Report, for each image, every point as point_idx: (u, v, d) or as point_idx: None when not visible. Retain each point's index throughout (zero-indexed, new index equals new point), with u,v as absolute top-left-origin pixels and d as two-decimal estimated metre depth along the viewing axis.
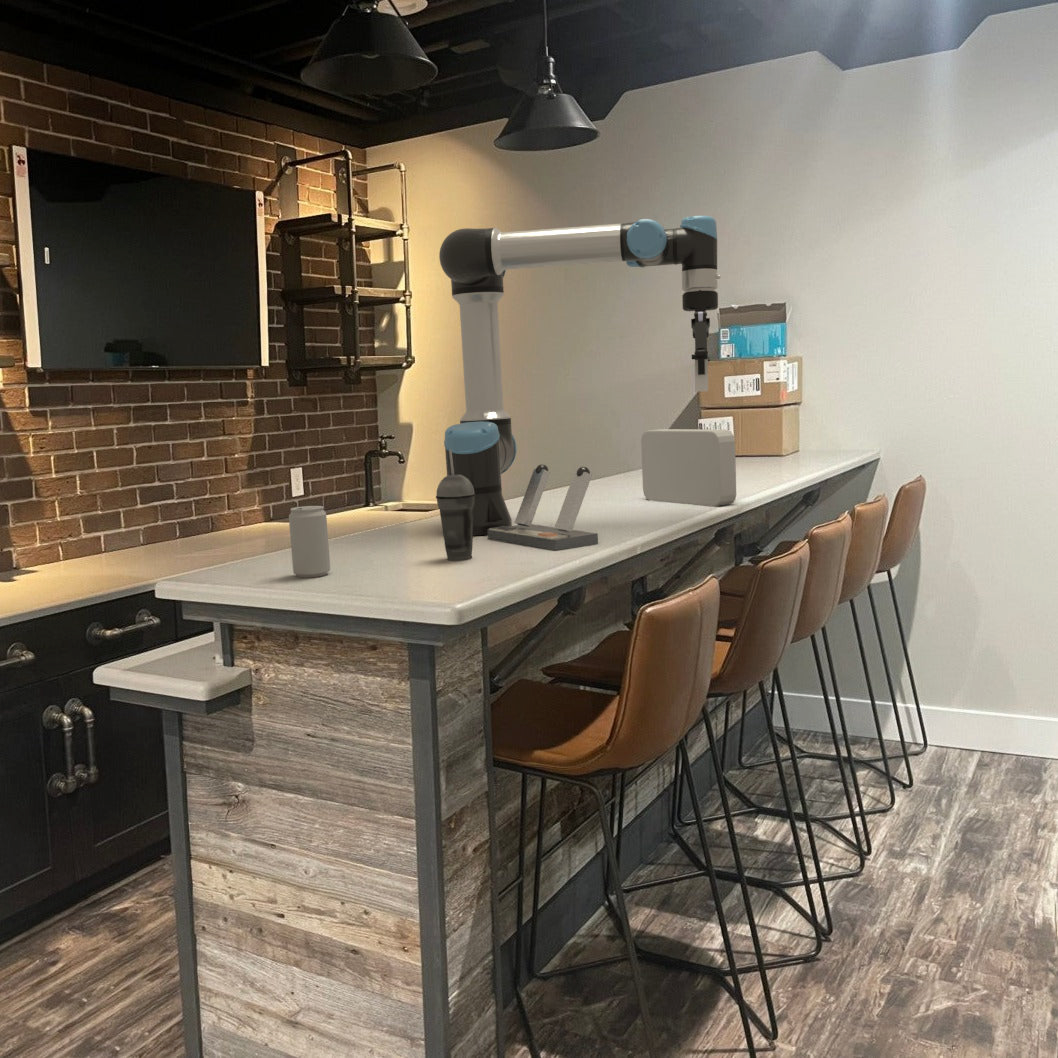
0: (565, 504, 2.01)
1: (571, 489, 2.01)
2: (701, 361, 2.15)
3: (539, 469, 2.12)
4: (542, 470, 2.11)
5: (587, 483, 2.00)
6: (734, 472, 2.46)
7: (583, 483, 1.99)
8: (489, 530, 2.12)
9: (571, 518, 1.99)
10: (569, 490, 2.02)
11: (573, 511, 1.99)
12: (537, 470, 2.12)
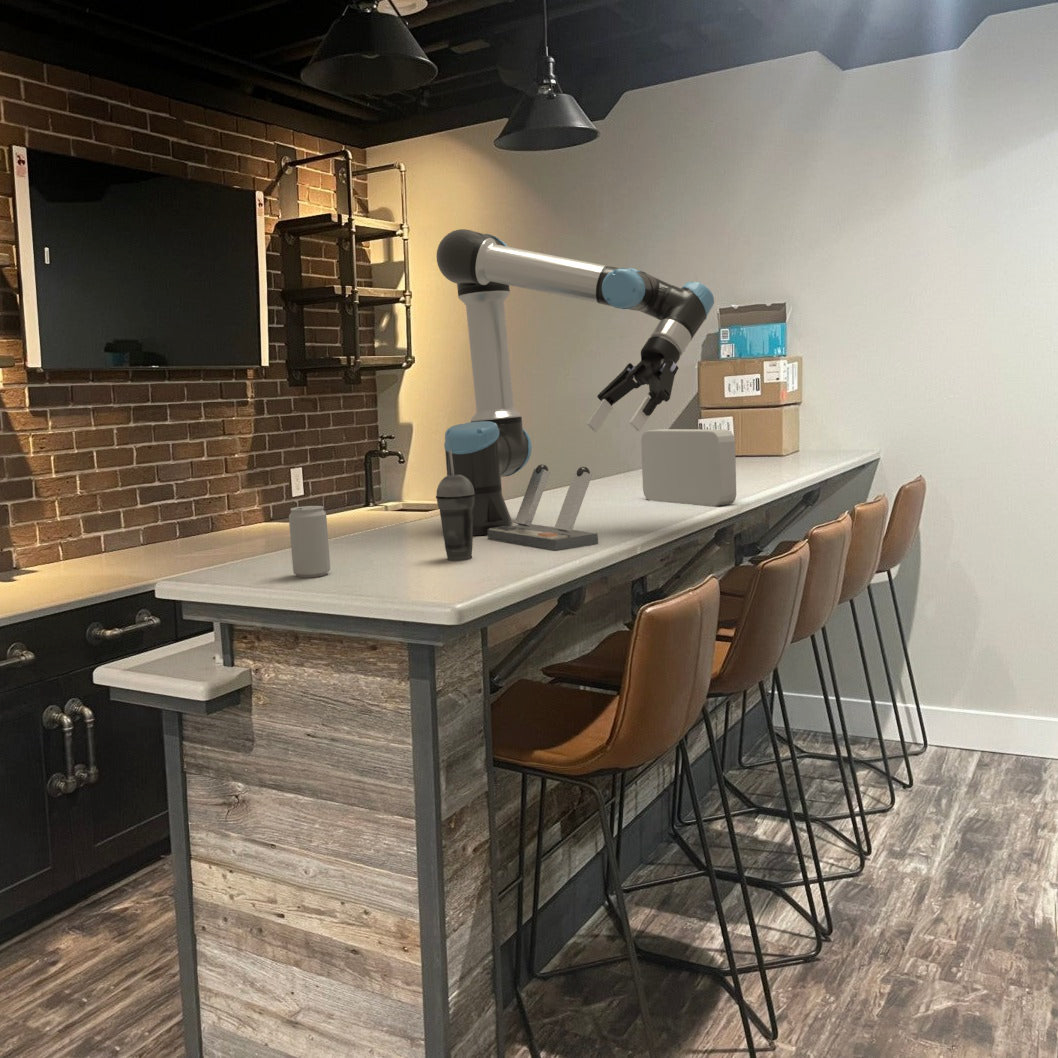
0: (565, 504, 2.01)
1: (571, 489, 2.01)
2: (654, 403, 2.00)
3: (539, 469, 2.12)
4: (542, 470, 2.11)
5: (587, 483, 2.00)
6: (734, 472, 2.46)
7: (583, 483, 1.99)
8: (489, 530, 2.12)
9: (571, 518, 1.99)
10: (569, 490, 2.02)
11: (573, 511, 1.99)
12: (537, 470, 2.12)
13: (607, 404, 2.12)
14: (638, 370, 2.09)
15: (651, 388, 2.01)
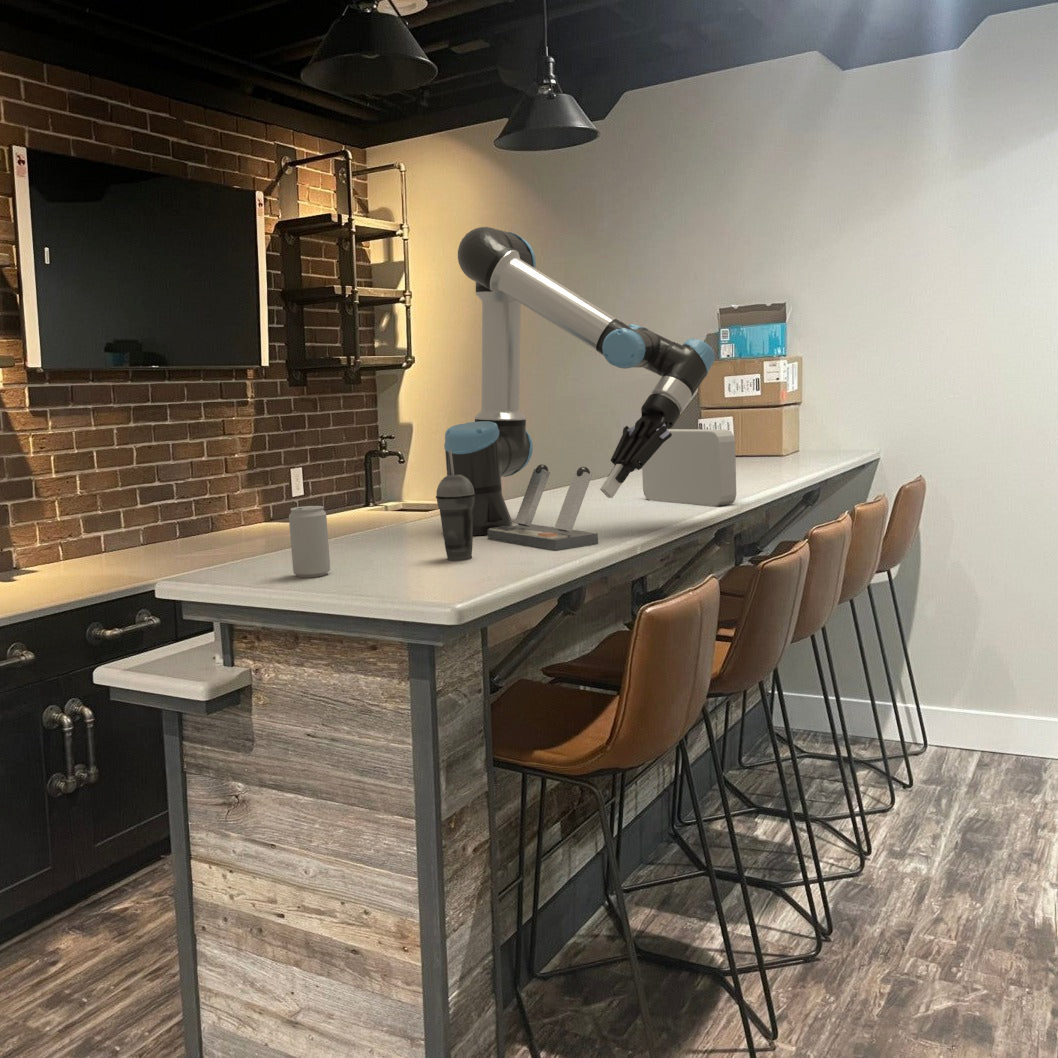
0: (565, 504, 2.01)
1: (571, 489, 2.01)
2: (627, 471, 2.05)
3: (539, 469, 2.12)
4: (542, 470, 2.11)
5: (587, 483, 2.00)
6: (734, 472, 2.46)
7: (583, 483, 1.99)
8: (489, 530, 2.12)
9: (571, 518, 1.99)
10: (569, 490, 2.02)
11: (573, 511, 1.99)
12: (537, 470, 2.12)
13: None
14: (641, 426, 2.10)
15: (630, 453, 2.06)
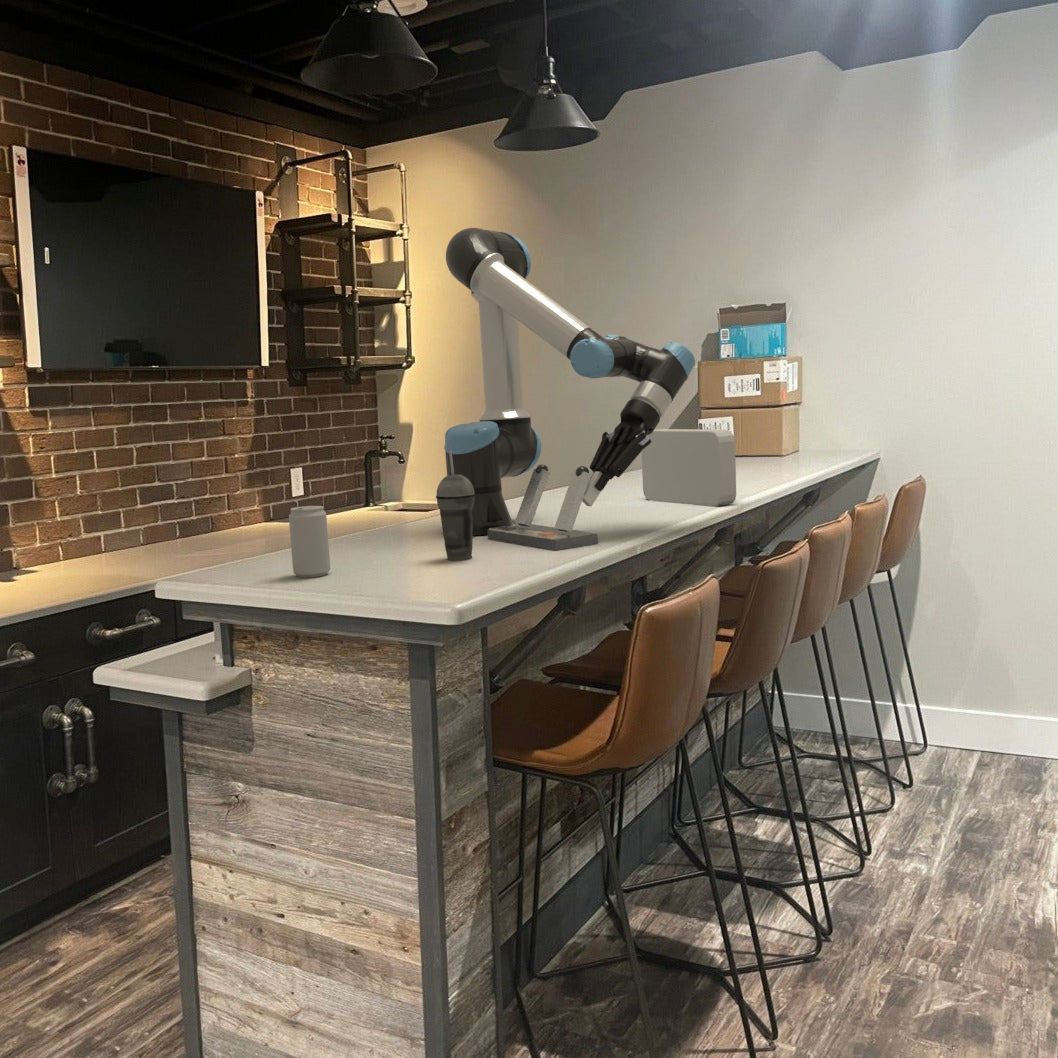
0: (564, 504, 2.01)
1: (570, 489, 2.01)
2: (606, 478, 2.02)
3: (539, 469, 2.12)
4: (542, 470, 2.11)
5: (586, 483, 2.00)
6: (734, 472, 2.46)
7: (582, 482, 1.99)
8: (489, 530, 2.12)
9: (571, 518, 1.98)
10: (568, 490, 2.01)
11: (573, 511, 1.99)
12: (537, 470, 2.12)
13: None
14: (620, 432, 2.06)
15: (609, 460, 2.03)
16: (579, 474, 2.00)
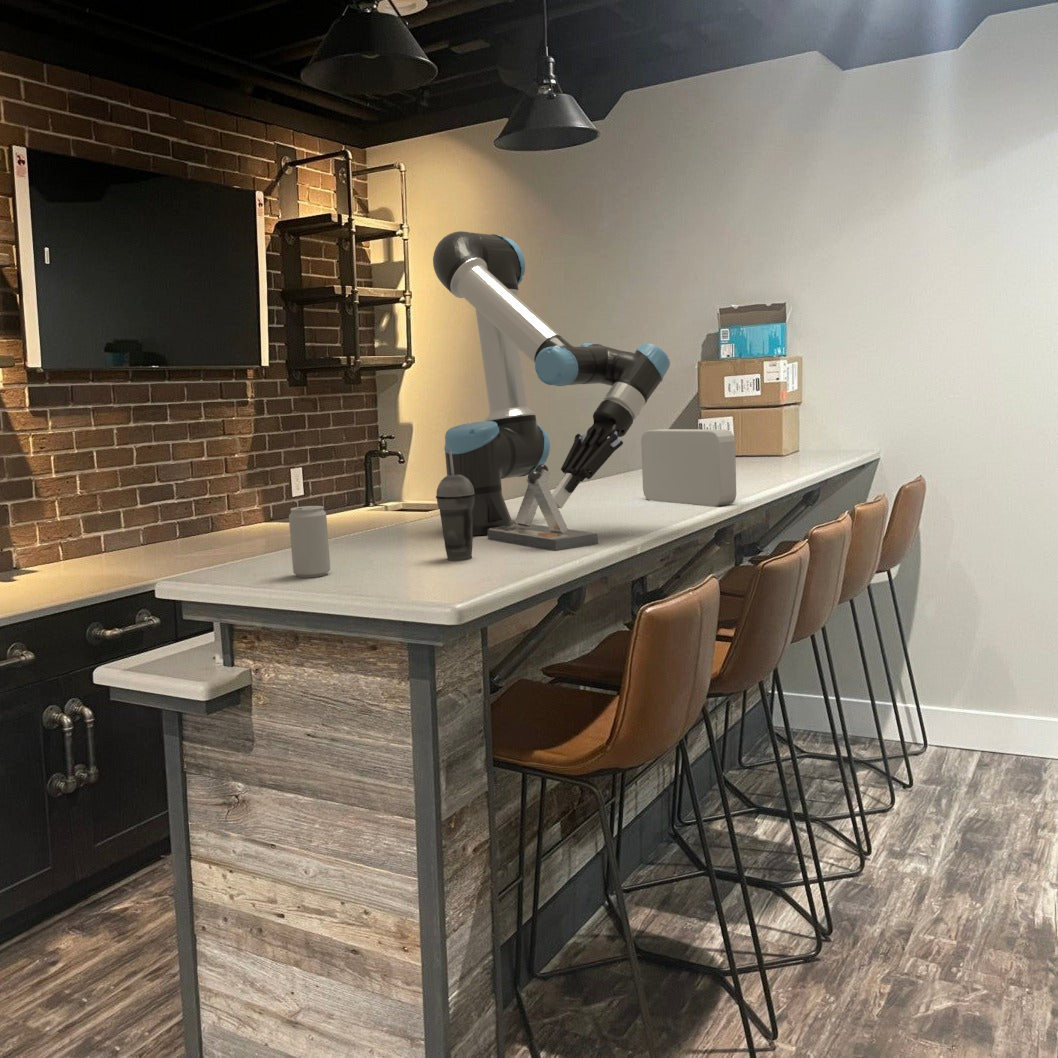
0: (542, 510, 1.98)
1: (537, 497, 1.97)
2: (577, 480, 1.98)
3: (539, 469, 2.12)
4: (542, 470, 2.11)
5: (545, 485, 1.94)
6: (734, 472, 2.46)
7: (542, 489, 1.94)
8: (489, 530, 2.12)
9: (558, 521, 1.97)
10: (536, 497, 1.97)
11: (555, 515, 1.96)
12: (537, 470, 2.12)
13: None
14: (592, 434, 2.03)
15: (580, 462, 1.99)
16: (534, 483, 1.94)
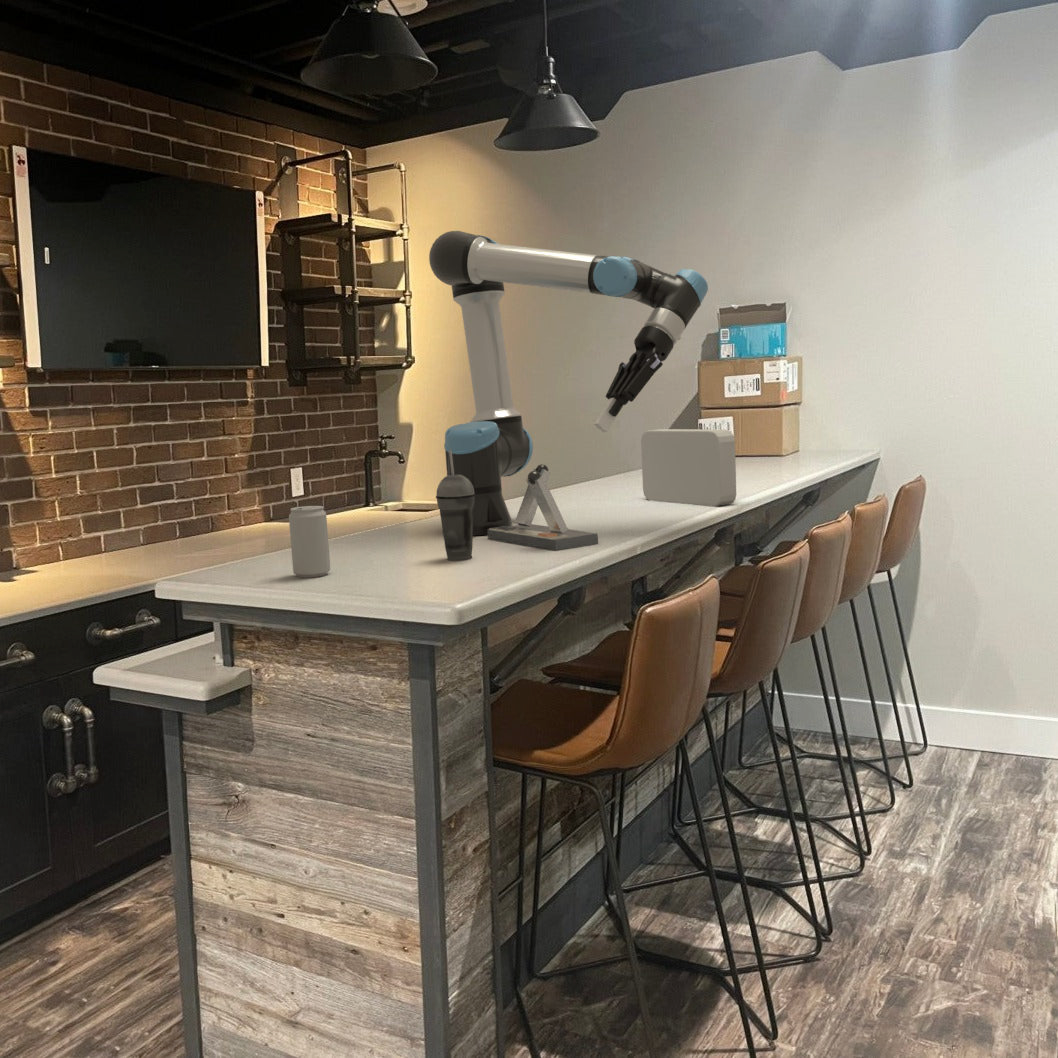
0: (542, 510, 1.98)
1: (537, 497, 1.97)
2: (620, 403, 2.05)
3: (539, 469, 2.12)
4: (542, 470, 2.11)
5: (545, 485, 1.94)
6: (734, 472, 2.46)
7: (542, 489, 1.94)
8: (489, 530, 2.12)
9: (558, 521, 1.97)
10: (536, 497, 1.97)
11: (555, 515, 1.96)
12: (537, 470, 2.12)
13: None
14: (634, 359, 2.09)
15: (622, 386, 2.06)
16: (534, 483, 1.94)
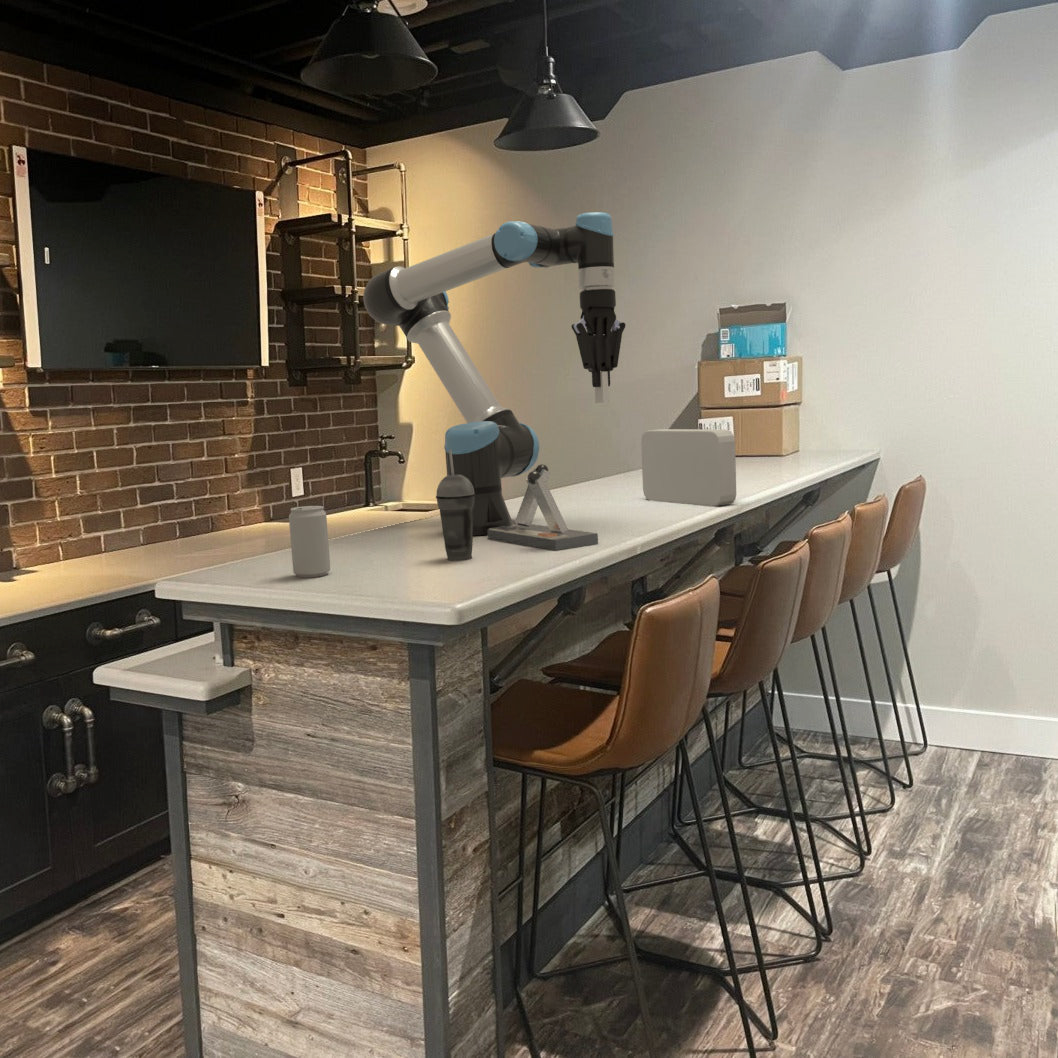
0: (542, 510, 1.98)
1: (537, 497, 1.97)
2: (594, 374, 2.18)
3: (539, 469, 2.12)
4: (542, 470, 2.11)
5: (545, 485, 1.94)
6: (734, 472, 2.46)
7: (542, 489, 1.94)
8: (489, 530, 2.12)
9: (558, 521, 1.97)
10: (536, 497, 1.97)
11: (555, 515, 1.96)
12: (537, 470, 2.12)
13: None
14: None
15: None
16: (534, 483, 1.94)
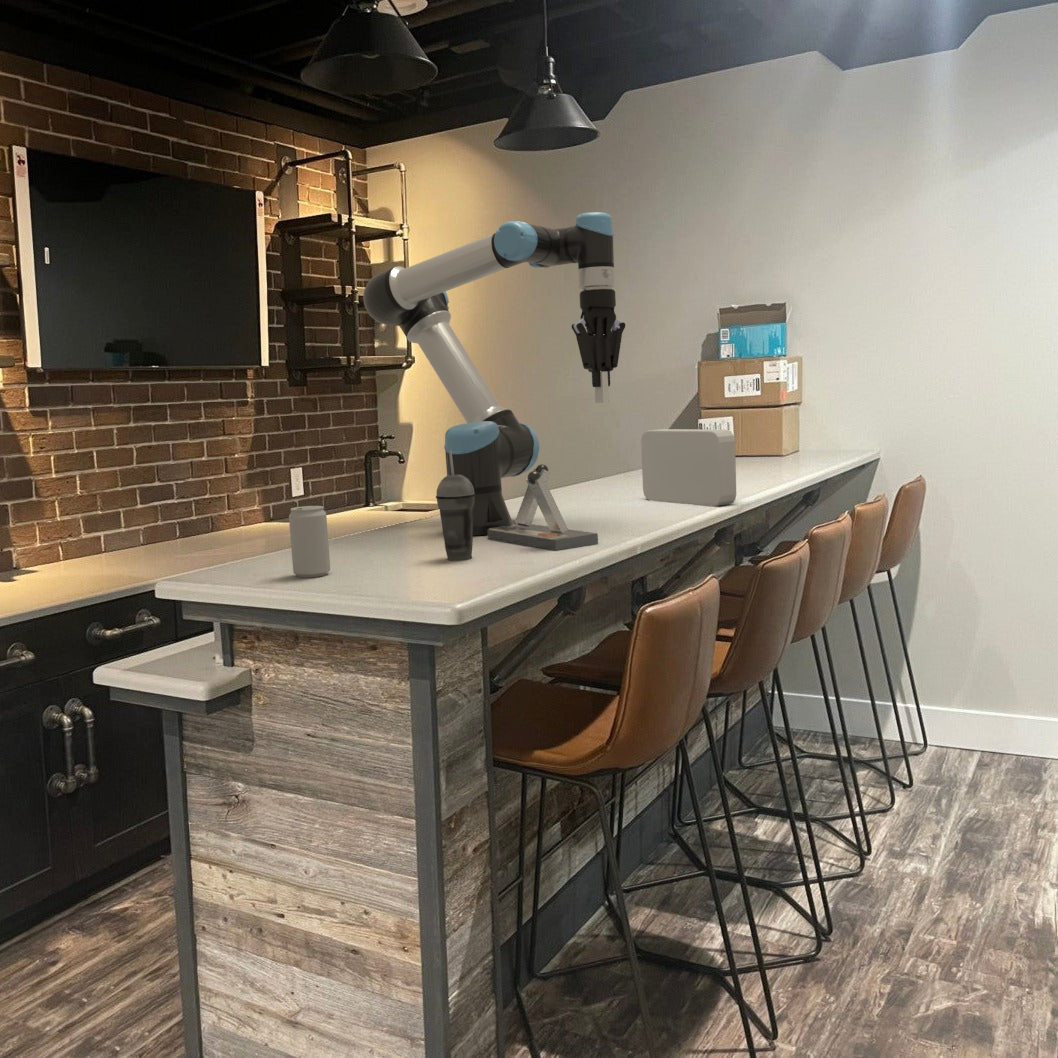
0: (542, 510, 1.98)
1: (537, 497, 1.97)
2: (594, 374, 2.18)
3: (539, 469, 2.12)
4: (542, 470, 2.11)
5: (545, 485, 1.94)
6: (734, 472, 2.46)
7: (542, 489, 1.94)
8: (489, 530, 2.12)
9: (558, 521, 1.97)
10: (536, 497, 1.97)
11: (555, 515, 1.96)
12: (537, 470, 2.12)
13: None
14: None
15: None
16: (534, 483, 1.94)
